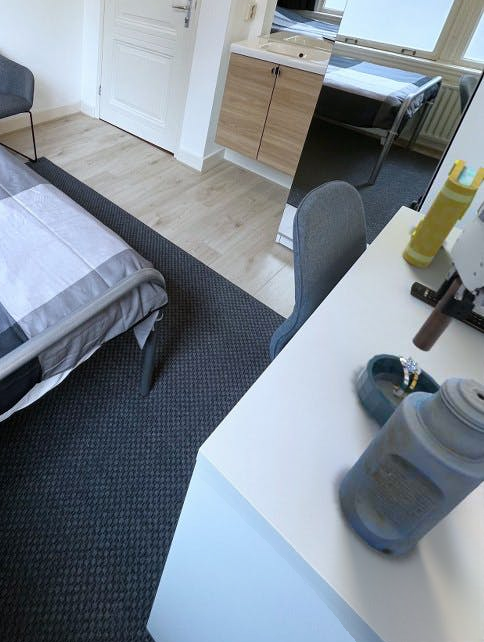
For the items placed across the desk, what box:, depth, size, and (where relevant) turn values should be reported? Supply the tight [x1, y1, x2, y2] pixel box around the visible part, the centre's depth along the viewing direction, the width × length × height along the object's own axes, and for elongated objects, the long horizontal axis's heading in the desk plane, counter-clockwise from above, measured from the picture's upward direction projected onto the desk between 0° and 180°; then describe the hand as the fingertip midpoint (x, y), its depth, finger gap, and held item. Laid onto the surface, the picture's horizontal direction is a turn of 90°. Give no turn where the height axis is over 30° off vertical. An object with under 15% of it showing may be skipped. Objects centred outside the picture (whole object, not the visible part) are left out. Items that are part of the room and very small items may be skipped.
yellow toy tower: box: [402, 158, 484, 269], centre depth 109 cm, size 17×7×25 cm, turn 133°
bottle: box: [338, 376, 484, 556], centre depth 54 cm, size 10×10×30 cm
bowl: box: [355, 353, 441, 427], centre depth 75 cm, size 13×13×6 cm
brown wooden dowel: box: [412, 278, 475, 353], centre depth 70 cm, size 3×3×15 cm
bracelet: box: [392, 354, 422, 399], centre depth 77 cm, size 7×3×8 cm, turn 147°
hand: (448, 307), depth 69 cm, fingers closed on brown wooden dowel, 2 cm apart
